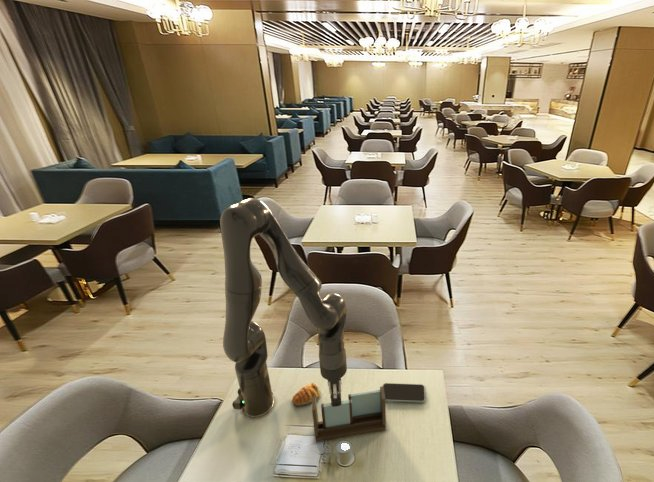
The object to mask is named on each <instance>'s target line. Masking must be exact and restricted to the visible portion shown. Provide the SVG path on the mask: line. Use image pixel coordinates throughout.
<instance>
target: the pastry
mask: <svg viewBox="0 0 654 482" xmlns="http://www.w3.org/2000/svg"><path fill="white" fill-rule="evenodd" d="M315 396H316V401H318V400H319V399H320V398H321V396H322V395H321V392H320V390H319V387H318V385H317V383H315V382H312V383H309V384H307V385H305V386H303V387H301V388H300V389H299V390H298V391H297V392H296V393H295V394H294V395H293V396H292V399H291V400H292V401H291V402H292V405H294V406H297V407H300V406H303V405H309V404H312V397H315Z"/></svg>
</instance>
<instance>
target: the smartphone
mask: <svg viewBox="0 0 654 482" xmlns="http://www.w3.org/2000/svg"><path fill="white" fill-rule="evenodd" d="M382 386H383V389H384V394H385V399H386V402H389V403H391V402H393V403H417V404H419V403H420V404H422V403H423V404H424V402H425V401H426V392H425V385H423V384H416V383H415V384H414V383H395V382H394V383H392V382H391V383H390V382H388V383H387V382H386V383H383V385H382Z"/></svg>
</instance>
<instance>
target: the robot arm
mask: <svg viewBox="0 0 654 482" xmlns="http://www.w3.org/2000/svg"><path fill="white" fill-rule="evenodd" d="M219 226H220V234H221V241H222V247H223V254H224V255H223V256H224V275H225V278H224V279H225V280H224V295H225V297H224V298H225V320H224V321H225V322H224V331H223V337H222V339H223V340H222V348H223V351H224V353H225V355H226V357H227V358H228V359H229V360H230V361H231V362H234V370H235V375H236V380H237V383H238V387H239V388H238V389H237V395H238V396H237V397H236V398H235V400H233V401H232V403H231V405H232V407H233V409H234V410H240V411H241V410H242V412H243V413H245V415H246V416H247V417H249V418H252V419H253V418H254V419H257V418H261V417H263V416H266V415H267V414H268V413H270V411H271V410H272V409H273V407H274V405H275V400H274V393H273V390H272V385H271V380H270V375H269V369H268V365H267V361H268V355H269V354H268V346H267V338H266V334H265V332H264V330H263V328H262V327H261V325H260V324H258V323H257V322H255V321H253V319H254V316H255V314H256V311H257V309H258V307H259V304H260V302H261V297H262V289H263V288H262V286H263V285H262V284H263V278H262V274H261V272H260V271H259V269H258V268H257V266H256V265H255V264H254V262H252V259H251V247H252V246H251V245H252V242H253V241H252V240H253V239H254V238H256V237H257V236H259V235H260V237H261V238H262V239H264V241H265V242H266V243H267V244H268V246H269V248H270V250H271V251H272V252H271V253H272V254H273V258H274V260H275V264H276V268H277V271H278V273H279V276H280V278H281V280H282V281H283V283H284V284H285V285H286V286H287V287H288V289H290V291H291V292H292V293H293V294H294V295H295V296H296V297H297V298H298V300H299V302H300V304H301V307H302V309H303V310H304V312H305V314H306V316H307V318H308V320H309V322H310V323H311V324H312V326H313V327H315V328H316V329H318V330H319V331H318V333H317V342H318V361H319V362H318V363H319V370H320V376H321V377H322V378H323V379H325V380H327V387H328V392H329V394H330V395H329V396H330V397H329V398H330V402H331V401H332V403H333V407H337V406H340V400H341V401H342V397H341V398H340V392H341V393H342V378H344V376H345V375H346V373H347V370H348V369H347V368H348V366H347V365H348V364H347V350H346V347H345V335H344V333H345V327H346V322H347V321H346V320H347V315H348V313H347V312H348V309H347V303H346V301H345V299H344V298H343V297H342V296H341V295H340V294H339V293H334V292H331V293H328V294H326V295H325V296H323V298H322V297H321V295H320V291H321V289H322V286H323V285H322V281H321V279H319V278H318V277H317V275H316V274H315V273H314V272H313V270H311V269H310V267H309V266H308V265H307V264H306V263H305V261H304V260H303V258H302V257H301V256H300V255H299V254H298V252H297V251H296V249H295V247H294V246H293V245H292V243H291V241H290V240H289V238H288V236H287V235H286V233H285V232H284V230H283V228H282V227H281V226H280V224H279V222H278V220H277V218H276V217H275V215H274V214H273V212H272V211H271V209H269V207H268V206H267V205H266V204H265V203H264V202H263V201H262V200H260V199H258V198H255V197H250V198H247V199H243V200H241V201H239V202H237V203H235V204H232V205H230V206H228V207H226V208H225V209H224V210H223V211H222V212H221V215H220V219H219Z"/></svg>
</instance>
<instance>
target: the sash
mask: <svg viewBox="0 0 654 482" xmlns="http://www.w3.org/2000/svg"><path fill="white" fill-rule="evenodd" d="M340 398H341V400H340V406H337V407H333V403H332V401H331V400H330V402H327V403H321V404H320V408H321V409H320V410H321V419H322V421H323V429H324V428H330V427H336V426H342V425H348V424H353V417H352V400H349V399H346V400H342V391H341V392H340Z"/></svg>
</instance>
